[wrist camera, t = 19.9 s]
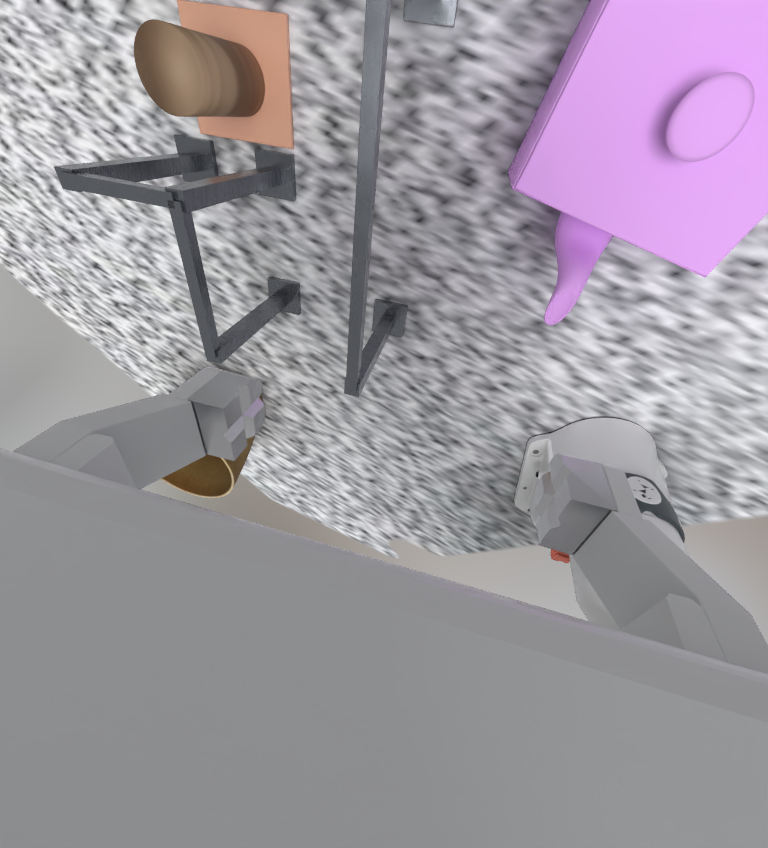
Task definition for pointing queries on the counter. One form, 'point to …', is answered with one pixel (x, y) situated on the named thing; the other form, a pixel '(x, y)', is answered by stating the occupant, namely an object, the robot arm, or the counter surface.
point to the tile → (272, 52)
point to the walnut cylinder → (197, 72)
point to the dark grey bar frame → (274, 179)
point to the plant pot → (209, 474)
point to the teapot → (652, 135)
